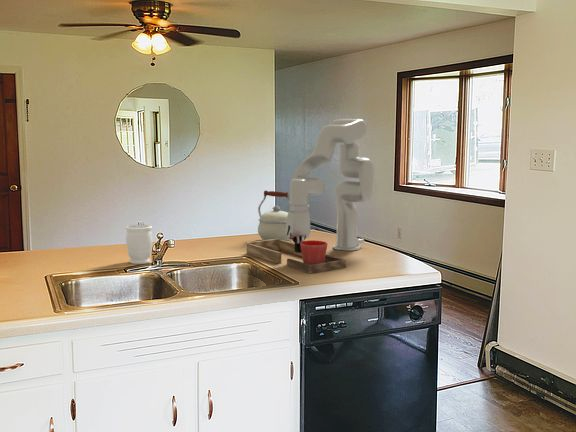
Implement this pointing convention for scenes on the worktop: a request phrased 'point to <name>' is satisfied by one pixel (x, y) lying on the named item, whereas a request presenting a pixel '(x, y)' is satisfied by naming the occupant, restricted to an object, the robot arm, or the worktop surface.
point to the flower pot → (313, 251)
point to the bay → (318, 265)
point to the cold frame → (270, 249)
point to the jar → (139, 243)
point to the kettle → (273, 220)
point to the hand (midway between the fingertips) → (298, 252)
